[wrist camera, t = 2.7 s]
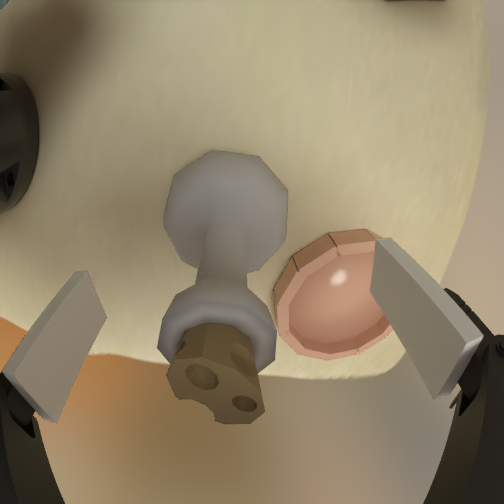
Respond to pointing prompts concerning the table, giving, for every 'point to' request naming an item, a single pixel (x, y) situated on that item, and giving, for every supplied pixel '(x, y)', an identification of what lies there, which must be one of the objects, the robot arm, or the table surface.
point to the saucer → (330, 298)
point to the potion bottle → (222, 282)
